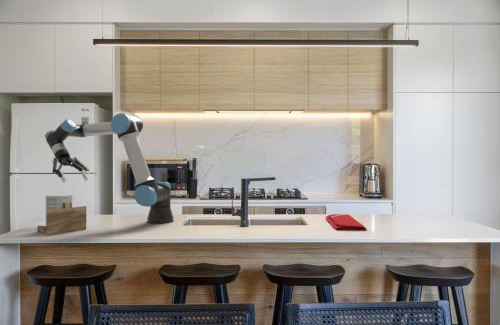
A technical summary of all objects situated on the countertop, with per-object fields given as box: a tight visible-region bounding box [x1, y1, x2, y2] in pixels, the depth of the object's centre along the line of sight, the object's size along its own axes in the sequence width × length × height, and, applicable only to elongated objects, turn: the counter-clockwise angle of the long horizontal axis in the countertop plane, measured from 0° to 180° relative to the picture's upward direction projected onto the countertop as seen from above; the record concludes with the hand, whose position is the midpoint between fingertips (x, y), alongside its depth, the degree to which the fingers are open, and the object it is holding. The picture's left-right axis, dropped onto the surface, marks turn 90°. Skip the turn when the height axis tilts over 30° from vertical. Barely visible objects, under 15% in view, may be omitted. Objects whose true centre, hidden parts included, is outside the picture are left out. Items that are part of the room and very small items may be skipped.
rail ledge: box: [37, 205, 87, 237], centre depth 217 cm, size 15×22×12 cm
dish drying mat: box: [325, 213, 367, 232], centre depth 238 cm, size 16×41×4 cm, turn 178°
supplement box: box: [45, 194, 73, 226], centre depth 220 cm, size 10×9×17 cm
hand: (76, 180), depth 240 cm, fingers open, 13 cm apart
